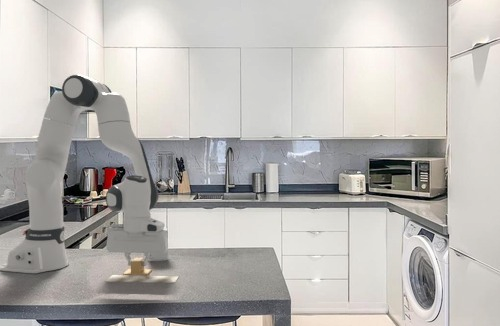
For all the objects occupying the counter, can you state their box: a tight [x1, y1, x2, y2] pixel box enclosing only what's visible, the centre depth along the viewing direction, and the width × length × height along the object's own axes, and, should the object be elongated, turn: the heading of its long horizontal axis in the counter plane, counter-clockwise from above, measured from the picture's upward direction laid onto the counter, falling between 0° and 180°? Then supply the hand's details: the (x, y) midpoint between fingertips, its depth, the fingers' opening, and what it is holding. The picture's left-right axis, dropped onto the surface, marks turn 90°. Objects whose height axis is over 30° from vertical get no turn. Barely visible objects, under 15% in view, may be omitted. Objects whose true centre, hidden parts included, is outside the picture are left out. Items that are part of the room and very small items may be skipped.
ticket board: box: [105, 274, 180, 284], centre depth 152 cm, size 24×13×2 cm, turn 87°
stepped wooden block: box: [122, 257, 152, 275], centre depth 155 cm, size 8×6×5 cm
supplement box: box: [147, 226, 169, 262], centre depth 174 cm, size 7×7×13 cm
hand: (137, 265), depth 155 cm, fingers closed on stepped wooden block, 3 cm apart
